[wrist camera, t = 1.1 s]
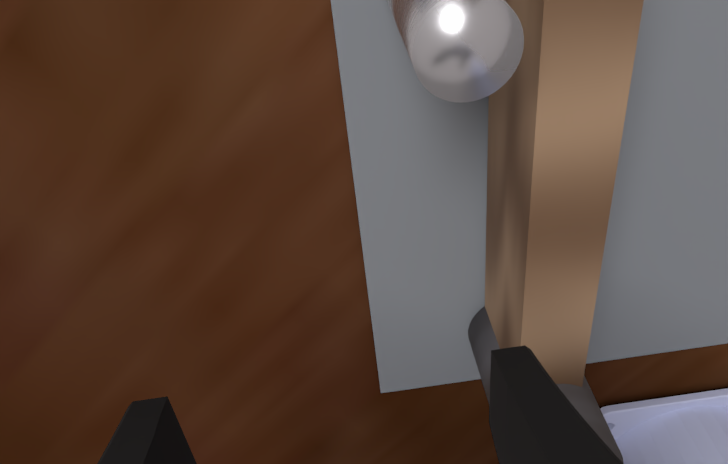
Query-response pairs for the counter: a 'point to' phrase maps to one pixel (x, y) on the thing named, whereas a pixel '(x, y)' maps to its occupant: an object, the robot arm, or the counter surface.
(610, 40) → the bar
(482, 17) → the hitch post
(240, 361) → the counter surface
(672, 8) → the mat
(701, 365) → the counter surface
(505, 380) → the robot arm
